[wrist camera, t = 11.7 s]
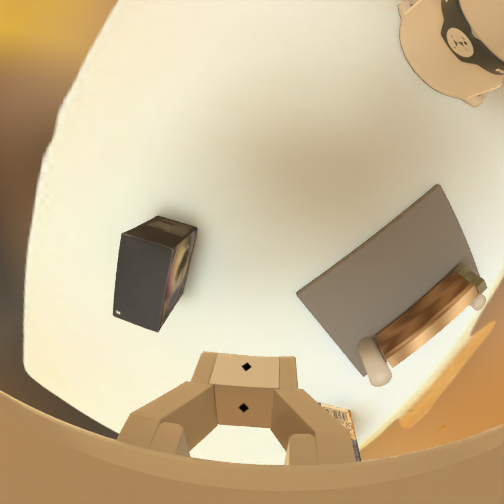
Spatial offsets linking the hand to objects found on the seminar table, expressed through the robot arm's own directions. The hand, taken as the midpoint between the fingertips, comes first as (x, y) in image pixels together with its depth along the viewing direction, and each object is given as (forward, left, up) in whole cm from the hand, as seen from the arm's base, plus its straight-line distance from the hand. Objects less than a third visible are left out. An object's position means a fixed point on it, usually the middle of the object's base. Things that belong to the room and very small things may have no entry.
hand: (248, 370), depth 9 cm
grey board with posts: (-9, +20, -29) cm, 36 cm away
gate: (-10, +23, -28) cm, 38 cm away
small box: (+14, -4, -29) cm, 33 cm away
